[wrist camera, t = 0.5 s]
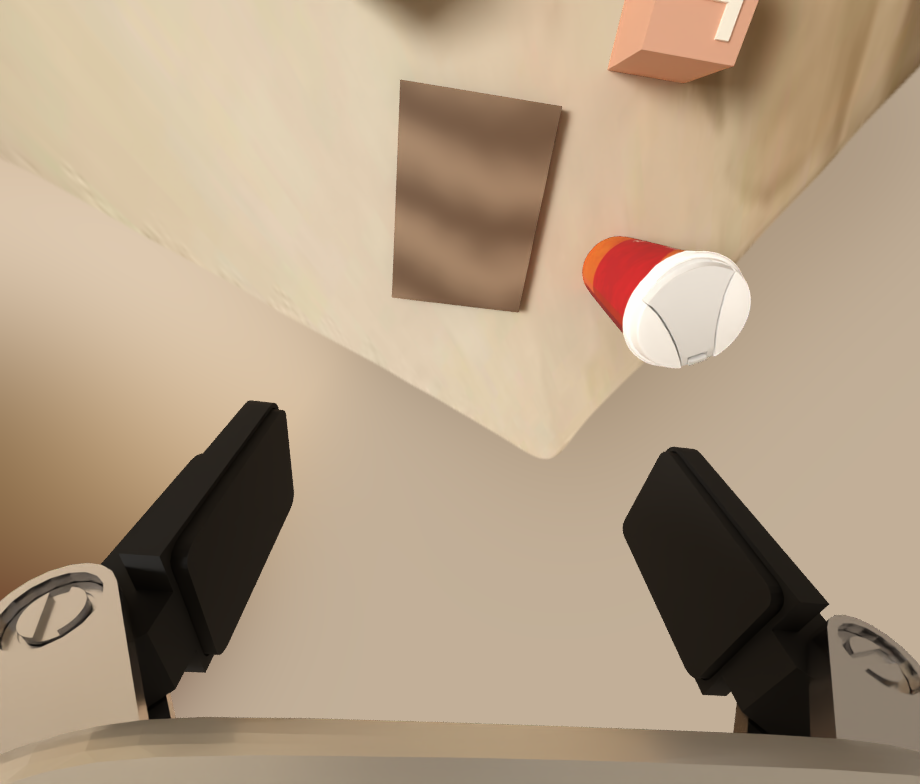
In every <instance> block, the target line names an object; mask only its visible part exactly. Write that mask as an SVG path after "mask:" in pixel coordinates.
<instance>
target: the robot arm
mask: <svg viewBox="0 0 920 784" xmlns="http://www.w3.org/2000/svg"><path fill="white" fill-rule="evenodd" d="M293 497H294V490H293V479H292V470H291V459H290V449H289V439H288V429H287V419H286V413H285V411H283V410H279V409H278V406H277V404H275V403H269V402H260V401H248V402H247V403H245V405H244V406H243V407H242V408H241V409H240V410H239V412H238V413H237V414H236V415H235V416H234V417H233V419H232V420H231V421H230V422H229V423H228V425H227V426H226V427H225V428H224V429H223V431H222V432H221V433H220V434H219V435H218V436H217V438H216V439H215V440H214V441H213V442H212V443H211V445H210V446H209V447H208V448H207V449H206V451H205V452H204V453H203V454H199V455H197V456H195V457H194V458H193V459H192V460H191V461H190V462H189V463H188V464H187V466H186V467H185V468H184V469H183V470H182V471H181V472H180V474H179V475H178V476H177V477H176V478H175V479H174V481H173V482H172V483H171V484H170V485H169V486H168V487H167V489H166V490H165V491H164V492H163V493H162V495H161V496H160V497H159V498H158V499H157V500H156V501H155V502H154V504H153V505H152V506H151V507H150V508H149V509H148V511H147V512H146V513H145V514H144V515H143V516H142V517H141V519H140V520H139V521H138V522H137V523H136V525H135V526H134V527H133V528H132V529H131V530H130V531H129V532H128V534H127V535H126V536H125V537H124V538H123V540H121V542H120V543H119V544H118V545H117V546H116V547H115V549H114V550H113V551H112V552H111V553H110V555H108V557H107V558H106V559H105V560H104V561H103V562H102V564H101V565H98V564H91V563H84V564H74V565H68V566H65V567H62V568H58V569H55V570H52V571H49V572H47V573H45V574H43V575H40V576H38V577H36V578H34V579H32V580H30V581H28V582H27V583H25V584H23V585H22V586H20V587H19V588H17V589H16V590H14V591H12V592H11V593H9V594H8V595H7V596H6V597H5V598H4V599H3V600H2V601H0V784H920V666H919V664H918V663H917V662H916V660H914V659H913V657H911V655H910V654H908V652H907V651H905V649H903V647H901V646H900V645H899V644H898V643H896V642H895V641H894V640H892V639H891V638H890V637H889V636H888V635H886V634H885V633H883V632H881V631H880V630H878V629H877V628H875V627H874V626H872V625H870V624H868V623H866V622H864V621H862V620H859V619H857V618H854V617H850V616H846V615H834V616H833V617H831V618H830V619H829V620H827V621H825V619H824V618H823V617H822V616H821V614H820V612H821V611H822V610H823V609H824V608H825V607H827V606H828V605H829V603H828V602H827V601H826V600H825V599H824V597H823V596H822V595H821V594H820V593H819V592H818V590H817V589H816V588H815V587H814V586H813V585H812V583H811V582H810V581H809V580H808V579H807V577H806V576H805V575H804V574H803V573H802V572H801V570H800V569H799V568H798V567H797V566H796V565H795V564H794V562H793V561H792V560H791V559H790V558H789V557H788V555H787V554H786V553H785V552H784V551H783V549H782V548H781V547H780V546H779V545H778V544H777V542H776V541H775V540H774V539H773V538H772V537H771V536H770V534H769V533H768V532H767V531H766V529H765V528H764V527H763V526H762V525H761V524H760V522H759V521H758V520H757V519H756V518H755V517H754V515H753V514H752V513H751V512H750V511H749V510H748V508H747V507H746V506H745V505H744V504H743V503H742V501H741V500H740V499H739V498H738V497H737V496H736V494H735V493H734V492H733V491H732V490H731V489H730V487H729V486H728V485H727V484H726V483H725V481H724V480H723V479H722V478H721V477H720V476H719V474H718V473H717V472H716V471H715V470H714V469H713V467H712V466H711V465H710V464H709V463H708V462H707V460H706V459H705V458H704V457H703V456H702V455H701V453H699V452H698V451H697V450H695V449H689V448H679V447H671V448H669V449H667V451H666V452H663V453H661V454H660V456H659V458H658V459H657V461H656V463H655V465H654V467H653V469H652V470H651V472H650V474H649V476H648V478H647V480H646V482H645V484H644V486H643V487H642V489H641V491H640V493H639V495H638V496H637V498H636V500H635V502H634V504H633V506H632V508H631V509H630V511H629V513H628V515H627V517H626V519H625V521H624V523H623V534H624V537H625V539H626V541H627V543H628V545H629V547H630V550H631V552H632V554H633V556H634V558H635V561H636V563H637V565H638V567H639V569H640V571H641V574H642V576H643V578H644V580H645V582H646V584H647V586H648V589H649V591H650V593H651V595H652V597H653V599H654V602H655V604H656V606H657V608H658V610H659V612H660V615H661V617H662V619H663V621H664V623H665V626H666V628H667V630H668V632H669V634H670V636H671V638H672V641H673V643H674V645H675V647H676V649H677V651H678V654H679V656H680V658H681V660H682V662H683V664H684V667H685V668H686V670H687V672H688V673H689V674H690V675H691V676H692V677H694V678H695V680H696V682H697V684H698V686H699V688H700V690H701V693H702V694H703V695H717V696H727V695H728V694H729V693H730V692H732V694H733V696H734V698H735V700H736V702H737V706H736V714H735V723H734V731H733V733H722V732H697V731H673V730H647V729H646V730H645V729H622V728H620V729H619V728H594V727H567V726H536V725H509V724H507V725H506V724H480V723H447V722H416V721H415V722H414V721H380V720H347V719H315V718H229V717H197V718H176V717H175V712H174V707H173V703H172V698H171V694H170V692H172V691H173V690H175V689H176V687H177V685H178V683H179V681H180V679H181V677H182V675H183V673H184V672H206V670H207V668H208V666H209V664H210V662H211V660H212V658H213V656H214V655H220V654H222V653H223V651H224V650H225V648H226V647H227V645H228V643H229V641H230V639H231V636H232V634H233V632H234V630H235V628H236V626H237V624H238V621H239V619H240V617H241V615H242V613H243V610H244V608H245V606H246V604H247V602H248V600H249V598H250V595H251V593H252V591H253V588H254V587H255V585H256V582H257V580H258V578H259V576H260V574H261V571H262V569H263V567H264V565H265V563H266V561H267V558H268V556H269V554H270V552H271V550H272V548H273V545H274V543H275V541H276V539H277V537H278V535H279V532H280V530H281V528H282V526H283V524H284V521H285V519H286V517H287V515H288V513H289V511H290V508H291V506H292V502H293Z"/></svg>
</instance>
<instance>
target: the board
mask: <svg viewBox="0 0 920 784" xmlns="http://www.w3.org/2000/svg"><path fill="white" fill-rule="evenodd" d="M561 109H562V106H556V105H550V104H544V103H538V102H532V101H526V100H520V99H514V98H508V97H502V96H496V95H490V94H484V93H478V92H472V91H466V90H460V89H454V88H448V87H441V86H435V85H429V84H423V83H417V82H411V81H405V80H400V103H399V129H398V155H397V181H396V207H395V233H394V259H393V285H392V297H393V298H402V299H410V300H419V301H427V302H435V303H444V304H452V305H461V306H469V307H478V308H486V309H495V310H503V311H511V312H519V307H520V302H521V297H522V293H523V288H524V283H525V279H526V274H527V269H528V265H529V260H530V255H531V250H532V246H533V241H534V236H535V232H536V227H537V222H538V217H539V213H540V208H541V203H542V199H543V194H544V189H545V185H546V180H547V175H548V170H549V166H550V161H551V156H552V152H553V147H554V142H555V138H556V133H557V128H558V123H559V119H560V114H561Z"/></svg>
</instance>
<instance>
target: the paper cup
mask: <svg viewBox="0 0 920 784" xmlns="http://www.w3.org/2000/svg"><path fill="white" fill-rule="evenodd" d="M582 274H583V280H584V283H585V285H586V287H587V289H588V290H589V292H590V293H591V295H592V296H593V297H594V298H595V300H596V301H597V302H598V303H599V305H600V306H601V307H602V308H603V310H604V311H605V312H606V313H607V315H608V316H609V317H610V318H611V320H612V321H613V322H614V323H615V324H616V326H617V327H618V328H619V329H620V330H621V332H622V333H623V335H624V338H625V341H626V344H627V345H628V347H629V349H630V350H631V351H632V353H633V354H634V355H635V356H636V357H638V358H639V359H640V360H642V361H644V362H646V363H649V364H652V365H655V366H663V367H668V368H681V366H684V365H689V366H690V365H693V364H695V363H698V362H701V361H704V360H706V359H707V357H710V356H717V355H718V354H720V353H721V352H722V351H724V350H725V349H726V348H727V347H728V346H729V345H730V344H731V343H732V342H733V341H734V340H735V339H736V338H737V336H738V335H739V333H740V332H741V330H742V329H743V327H744V325H745V323H746V321H747V318H748V316H749V311H750V306H751V296H750V290H749V287H748V284H747V282H746V280H745V279H744V277H743V274H742V272H741V271H740V269H739V268H738V266H737V265H736V264H735V263H734V262H733V261H732V260H730V259H729V258H727V257H726V256H724V255H721V254H718V253H715V252H709V251H683V250H679V249H675V248H671V247H667V246H663V245H659V244H655V243H651V242H647V241H642V240H638V239H634V238H629V237H621V236H617V237H611V238H608V239H605V240H603V241H601V242H600V243H598V244H597V245H596V246H595V247H594V248H593V249H592V250H591V251H590V252H589V254H588V255H587V257H586V259H585V262H584V265H583V272H582Z"/></svg>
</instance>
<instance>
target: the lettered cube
mask: <svg viewBox="0 0 920 784" xmlns="http://www.w3.org/2000/svg"><path fill="white" fill-rule="evenodd" d="M758 1H759V0H625V2H624V6H623V10H622V14H621V18H620V22H619V26H618V30H617V34H616V38H615V42H614V46H613V50H612V54H611V58H610V62H609V66H608V70H610V71H616V72H622V73H628V74H633V75H639V76H645V77H650V78H656V79H662V80H667V81H673V82H679V83H686V82H689V81H692V80H695V79H698V78H701V77H704V76H707V75H709V74H712V73H715V72H718V71H721V70H724V69H727V68H730V67H733V66H734V64H735V62H736V59H737V56H738V54H739V51H740V48H741V46H742V43H743V40H744V38H745V35H746V33H747V30H748V27H749V25H750V22H751V19H752V17H753V14H754V12H755V9H756V6H757V4H758Z"/></svg>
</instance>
